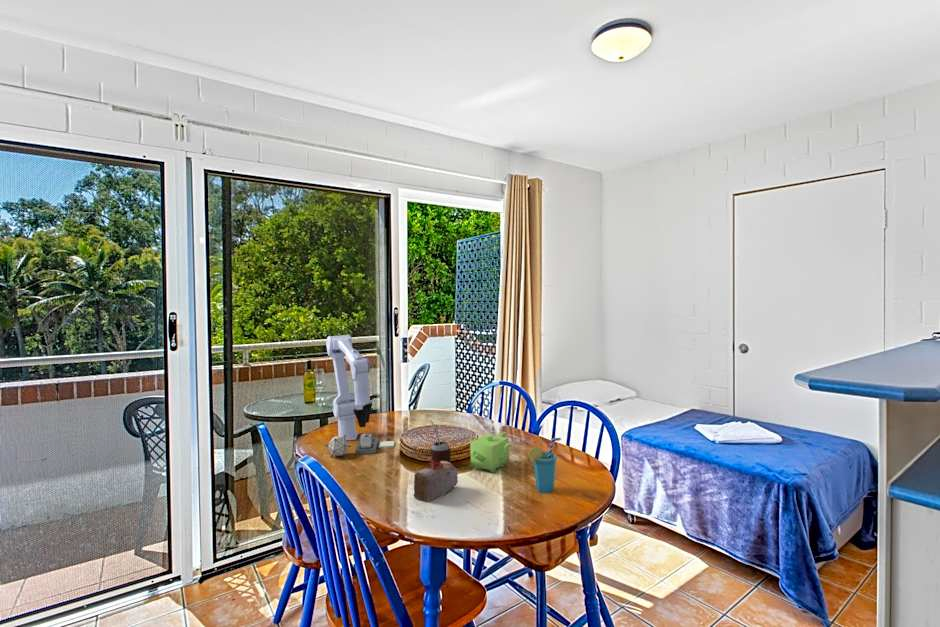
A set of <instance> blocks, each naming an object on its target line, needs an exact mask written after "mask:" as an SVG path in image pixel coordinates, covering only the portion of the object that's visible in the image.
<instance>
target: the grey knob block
mask: <svg viewBox="0 0 940 627" xmlns="http://www.w3.org/2000/svg"><path fill="white" fill-rule="evenodd" d="M372 434H373V433H368V432H366V433H363V434H360V437H359V440H360V446H361V449H368V448H372V438H373V435H372Z"/></svg>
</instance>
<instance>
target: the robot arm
mask: <svg viewBox="0 0 940 627" xmlns="http://www.w3.org/2000/svg"><path fill="white" fill-rule="evenodd" d="M325 345H326V352H327V356H328V357H330V358H331V360H332V363H333V369H334V376H335V377H334V378H335V383H336V388H337V393H338V394H337V396H336V397H335V398H334V399H333V401H332V413H333V416H334V417H335V418H336V419H337V427H338V428H337V430H338V431H337V432H338V436H344V435H346V436H345V438H346V440H347V441H353V440H354V441H355V440H357V437H358V435H359V432H358V431H357V426H356V425H357V424H358V426H359V428H366V427H367V426H366V425H367V423H370V417H371V410H372V407H373V403H374V400H373V399H372V400H371V397H370V396H371V395H370V394H371V393H370V382H369V373H370V371H371V363H370V360H369V359H368V358H364V357H363V356H362V355H361V354H360V352H359V351H358V350H357V349H355V348H353V338H352V336H351V335H350V334H342V335H332V336H330V335H328V336H327V338H326V342H325ZM345 360H346V362H347V363H348V364H349V366H350V373H351V378H352V380H353V391H354V394H352V393H351V392H350V385H349V380H348V374H347V369H346V368H347V367H346V363H345ZM356 420H357V424H356Z"/></svg>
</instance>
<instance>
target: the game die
mask: <svg viewBox="0 0 940 627" xmlns="http://www.w3.org/2000/svg"><path fill="white" fill-rule="evenodd" d="M345 436H346V435H344V436H339V435H334V434H332V438H331V439H330V440H329V442H328V444H325V445H324V446H325V447H327V448H328V450H329V453H330V454H331V455H330V458H332V457H334V456H339V457H340V456H341V457H342V458H345V456H344V455H345V453H346V452H347V450H348V449H349V448H351V447H352V446H351V445H349V443H348V440H346V438H345Z"/></svg>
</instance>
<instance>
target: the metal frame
mask: <svg viewBox="0 0 940 627" xmlns="http://www.w3.org/2000/svg"><path fill="white" fill-rule="evenodd" d="M379 440H380V439H379V437H378V436H377V437H372V448H368V449H361V446H360V439H358V443H357V445H356V447H355V450H354V451H355V452H354V453H355V456H356V455H358V456H359V455H370V454H371V455H372V454H376V453H377V449H378V447H379V443H380V441H379Z"/></svg>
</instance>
